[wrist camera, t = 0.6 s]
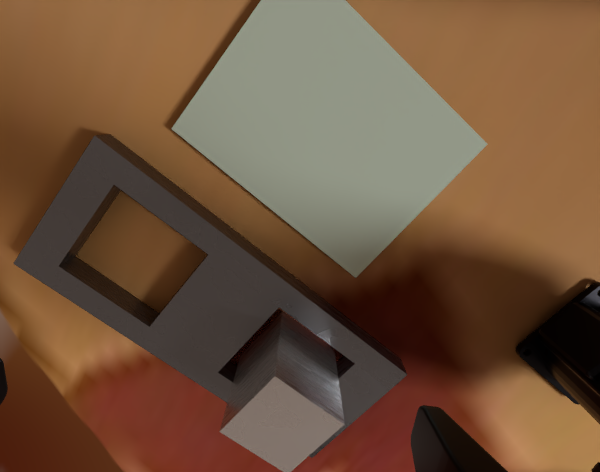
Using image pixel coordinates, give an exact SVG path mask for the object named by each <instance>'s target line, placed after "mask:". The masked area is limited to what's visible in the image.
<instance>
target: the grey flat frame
mask: <svg viewBox="0 0 600 472" xmlns="http://www.w3.org/2000/svg"><path fill="white" fill-rule="evenodd" d="M121 190H122V191H123V192H125V193H126V194H127V195H129V196H130V197H131V198H133V199H134V200H135V201H137V202H138V203H140V204H141V205H142V206H144V207H145V208H146V209H148V210H149V211H150V212H152V213H153V214H154V215H156V216H157V217H158V218H160V219H161V220H162V221H164V222H165V223H166V224H168V225H169V226H170V227H172V228H173V229H174V230H176V231H177V232H179V233H180V234H181V235H183V236H184V237H185V238H187V239H188V240H189V241H191V242H192V243H193V244H195V245H196V246H197V247H199V248H200V249H201V250H203V251H204V252H205V253H207V254H208V255H207V256H206V257H205V259H204V260H203V261H202V262H201V263H200V265H199V266H198V267H197V268H196V270H195V271H194V272H193V273H192V274H191V276H190V277H189V278H188V279H187V281H186V282H185V283H184V284H183V285H182V287H181V288H180V289H179V290H178V292H177V293H176V294H175V295H174V296H173V298H172V299H171V300H170V301H169V303H168V304H167V305H166V306H165V307H164V309H163V310H162V311H161V312H160V314H159V313H158V312H156V311H155V310H153V309H152V308H150V307H149V306H147V305H146V304H144V303H143V302H142V301H140V300H139V299H137V298H136V297H134V296H133V295H131V294H130V293H128V292H127V291H125V290H124V289H122V288H121V287H119V286H118V285H117V284H115V283H114V282H112V281H111V280H109V279H108V278H106V277H105V276H103V275H102V274H100V273H99V272H97V271H96V270H94V269H93V268H92V267H90V266H89V265H87V264H86V263H84V262H83V261H81V260H80V259H78V258H77V257H75V256H76V254H77V253H78V252H79V250H80V249H81V247H82V246H83V244H84V243H85V241H86V240H87V238H88V237H89V236H90V234H91V233H92V231H93V230H94V228H95V227H96V225H97V224H98V223H99V221H100V220H101V218H102V217H103V215H104V214H105V212H106V211H107V209H108V208H109V207H110V205H111V204H112V202H113V201H114V199H115V198H116V196H117V195H118V194H119V192H120V191H121ZM14 264H15V265H16V266H18V267H19V268H21V269H22V270H24V271H26V272H27V273H29V274H30V275H32V276H33V277H35V278H36V279H38V280H39V281H41V282H42V283H44V284H46V285H47V286H49V287H50V288H52V289H53V290H55V291H56V292H58V293H59V294H61V295H62V296H64V297H66V298H67V299H69V300H70V301H72V302H73V303H75V304H76V305H78V306H79V307H81V308H82V309H84V310H85V311H87V312H89V313H90V314H92V315H93V316H95V317H96V318H98V319H99V320H101V321H102V322H104V323H105V324H107V325H109V326H110V327H112V328H113V329H115V330H116V331H118V332H119V333H121V334H122V335H124V336H125V337H127V338H129V339H130V340H132V341H133V342H135V343H136V344H138V345H139V346H141V347H142V348H144V349H145V350H147V351H149V352H150V353H152V354H153V355H155V356H156V357H158V358H159V359H161V360H162V361H164V362H165V363H167V364H168V365H170V366H172V367H173V368H175V369H176V370H178V371H179V372H181V373H182V374H184V375H185V376H187V377H188V378H190V379H192V380H193V381H195V382H196V383H198V384H199V385H201V386H202V387H204V388H205V389H207V390H208V391H210V392H212V393H213V394H215V395H216V396H218V397H219V398H221V399H222V400H224V401H225V402H228V399H229V395H230V391H231V388H232V384H233V380H234V377H235V373H236V369H237V366H236V365H234V364H233V363H231V362H230V361H229V360H230V359H231V358H232V357H233V356H234V355H235V354H236V353H237V352H238V350H239V349H240V348H241V347H242V346H243V345H244V344H245V343H246V342H247V341H248V340H249V339H250V338H251V337H252V335H253V334H254V333H255V332H256V331H257V330H258V329H259V328H260V327H261V326H262V325H263V324H264V323H265V322H266V321H267V319H268V318H269V317H270V316H271V315H272V314H273V313H274V312H275V311H276V310H277V309H278V308H281V309H282V310H283V311H285V312H286V313H288V314H289V315H290V316H292V317H293V318H294V319H296V320H297V321H298V322H300V323H301V324H302V325H304V326H305V327H306V328H308V329H309V330H310V331H312V332H313V333H314V334H316V335H317V336H318V337H320V338H321V339H322V340H324V341H325V342H327V343H328V344H329V345H331V346H332V347H333V348H335V349H336V350H337V351H339V352H340V353H341V354H343V355H344V356H343V357H342V358H341V359H340V360H339V361H338V362H337V363H336V365H337V372H338V379H339V387H340V394H341V402H342V409H343V417H344V424H345V425H343V426H342V427H341V428H340V429H339V430H338V431H337V432H335V433H334V434H333V435H332V436H331V437H330V438H329V439H327V440H326V441H325V442H324V443H323V444H322V445H321V446H319V447H318V448H317V449H316V450H315V451H314V452H313V453H311V454H310V455H309V456H310V457H311V458H312V457H314V456H315V455H316V454H317V453H318V452H319V451H320V450H322V449H323V448H324V447H325V446H326V445H327V444H329V443H330V442H331V441H332V440H333V439H334V438H335V437H337V436H338V435H339V434H340V433H341V432H342V431H343V430H345V429H346V428H347V427H348V426H349V425H350V424H351V423H353V422H354V421H355V420H356V419H357V418H358V417H359V416H361V415H362V414H363V413H364V412H365V411H366V410H367V409H369V408H370V407H371V406H372V405H373V404H374V403H376V402H377V401H378V400H379V399H380V398H381V397H382V396H384V395H385V394H386V393H387V392H388V391H389V390H390V389H392V388H393V387H394V386H395V385H396V384H397V383H398V382H400V381H401V380H402V379H403V378H404V377H405V376H406V375H407V373H406V370H405V368H404V366H403V363H402V361H401V359H400V358H399V357H398V356H396V355H395V354H394V353H392V352H391V351H390V350H388V349H387V348H386V347H385V346H383V345H382V344H381V343H379V342H378V341H377V340H376V339H374V338H373V337H372V336H370V335H369V334H368V333H366V332H365V331H364V330H363V329H361V328H360V327H359V326H357V325H356V324H355V323H354V322H352V321H351V320H350V319H348V318H347V317H346V316H345V315H343V314H342V313H341V312H339V311H338V310H337V309H335V308H334V307H333V306H332V305H330V304H329V303H328V302H326V301H325V300H324V299H323V298H321V297H320V296H319V295H317V294H316V293H315V292H313V291H312V290H311V289H310V288H308V287H307V286H306V285H304V284H303V283H302V282H301V281H299V280H298V279H297V278H295V277H294V276H293V275H292V274H290V273H289V272H288V271H286V270H285V269H284V268H282V267H281V266H280V265H279V264H277V263H276V262H275V261H273V260H272V259H271V258H270V257H268V256H267V255H266V254H264V253H263V252H262V251H260V250H259V249H258V248H257V247H255V246H254V245H253V244H251V243H250V242H249V241H248V240H246V239H245V238H244V237H242V236H241V235H240V234H239V233H237V232H236V231H235V230H233V229H232V228H231V227H229V226H228V225H227V224H226V223H224V222H223V221H222V220H220V219H219V218H218V217H217V216H215V215H214V214H213V213H211V212H210V211H209V210H207V209H206V208H205V207H204V206H202V205H201V204H200V203H198V202H197V201H196V200H195V199H193V198H192V197H191V196H189V195H188V194H187V193H186V192H184V191H183V190H182V189H180V188H179V187H178V186H176V185H175V184H174V183H173V182H171V181H170V180H169V179H167V178H166V177H165V176H164V175H162V174H161V173H160V172H158V171H157V170H156V169H154V168H153V167H152V166H151V165H149V164H148V163H147V162H145V161H144V160H143V159H142V158H140V157H139V156H138V155H136V154H135V153H134V152H133V151H131V150H130V149H129V148H127V147H126V146H125V145H123V144H122V143H121V142H120V141H118V140H117V139H116V138H114V137H113V136H112V135H111V134H110V135H95V136H94V137H93V139H92V140H91V142H90V144H89V145H88V147H87V148H86V150H85V151H84V153H83V155H82V156H81V158H80V159H79V161H78V162H77V164H76V166H75V167H74V169H73V170H72V172H71V174H70V175H69V177H68V178H67V180H66V181H65V183H64V185H63V186H62V188H61V189H60V191H59V192H58V194H57V196H56V197H55V199H54V200H53V202H52V204H51V205H50V207H49V208H48V210H47V211H46V213H45V215H44V216H43V218H42V219H41V221H40V222H39V224H38V226H37V227H36V229H35V230H34V232H33V234H32V235H31V237H30V238H29V240H28V241H27V243H26V245H25V246H24V248H23V249H22V251H21V252H20V254H19V256H18V257H17V259H16V260H15V262H14Z"/></svg>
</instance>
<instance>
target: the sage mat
mask: <svg viewBox="0 0 600 472" xmlns="http://www.w3.org/2000/svg"><path fill="white" fill-rule="evenodd" d="M172 130H173V131H175V132H176V133H177V134H178V135H179V136H181V137H182V138H183V139H184V140H186V141H187V142H188V143H189V144H191V145H192V146H193V147H194V148H196V149H197V150H198V151H199V152H201V153H202V154H203V155H204V156H205V157H207V158H208V159H209V160H210V161H212V162H213V163H214V164H215V165H217V166H218V167H219V168H220V169H222V170H223V171H224V172H225V173H226V174H228V175H229V176H230V177H231V178H233V179H234V180H235V181H236V182H238V183H239V184H240V185H241V186H243V187H244V188H245V189H246V190H248V191H249V192H250V193H251V194H252V195H254V196H255V197H256V198H257V199H259V200H260V201H261V202H262V203H264V204H265V205H266V206H267V207H269V208H270V209H271V210H272V211H273V212H275V213H276V214H277V215H278V216H280V217H281V218H282V219H283V220H285V221H286V222H287V223H288V224H290V225H291V226H292V227H293V228H295V229H296V230H297V231H298V232H299V233H301V234H302V235H303V236H304V237H306V238H307V239H308V240H309V241H311V242H312V243H313V244H314V245H316V246H317V247H318V248H319V249H320V250H322V251H323V252H324V253H325V254H327V255H328V256H329V257H330V258H332V259H333V260H334V261H335V262H337V263H338V264H339V265H340V266H342V267H343V268H344V269H345V270H346V271H348V272H349V273H350V274H351V275H353V276H354V277H355V278H356V277H357V276H358V275H359V274H360V273H361V272H362V271H363V270H364V269H365V268H366V267H367V266H368V265H369V264H370V263H371V262H372V261H373V260H374V259H375V258H376V257H377V256H378V255H379V254H380V253H381V252H382V251H383V250H384V249H385V248H386V247H387V246H388V245H389V244H390V243H391V242H392V241H393V240H394V239H395V238H396V237H397V236H398V235H399V234H400V233H401V232H402V231H403V230H404V229H405V228H406V227H407V226H408V224H409V223H410V222H411V221H412V220H413V219H414V218H415V217H416V216H417V215H418V214H419V213H420V212H421V211H422V210H423V209H424V208H425V207H426V206H427V205H428V204H429V203H430V202H431V201H432V200H433V199H434V198H435V197H436V196H437V195H438V194H439V193H440V192H441V191H442V190H443V189H444V188H445V187H446V186H447V185H448V184H449V183H450V182H451V181H452V180H453V179H454V178H455V177H456V176H457V175H458V174H459V173H460V172H461V171H462V170H463V169H464V168H465V167H466V166H467V165H468V164H469V163H470V161H471V160H472V159H473V158H474V157H475V156H476V155H477V154H478V153H479V152H480V151H481V150H482V149H483V148H484V147H485V146H486V145H487V143H486V142H485V141H484V140H483V139H482V138H481V137H480V136H479V135H478V134H477V133H476V132H475V131H474V130H473V129H472V128H471V127H470V126H469V125H468V124H467V123H466V122H465V121H464V120H463V119H462V118H461V117H460V116H459V115H458V114H457V113H456V112H455V111H454V110H453V109H452V108H451V107H450V106H449V105H448V104H447V103H446V102H445V101H444V100H443V99H442V98H441V97H440V96H439V95H438V94H437V93H436V92H435V91H434V90H433V88H432V87H431V86H430V85H429V84H428V83H427V82H426V81H425V80H424V79H423V78H422V77H421V76H420V75H419V74H418V73H417V72H416V71H415V70H414V69H413V68H412V67H411V66H410V65H409V64H408V63H407V62H406V61H405V60H404V59H403V58H402V57H401V56H400V55H399V54H398V53H397V52H396V51H395V50H394V49H393V48H392V47H391V46H390V45H389V44H388V43H387V42H386V41H385V40H384V39H383V38H382V37H381V36H380V35H379V34H378V33H377V32H376V31H375V30H374V29H373V28H372V27H371V26H370V25H369V24H368V23H367V22H366V21H365V20H364V19H363V18H362V17H361V16H360V15H359V14H358V13H357V12H356V11H355V10H354V9H353V8H352V7H351V6H350V5H349V4H348V3H347V2H346V1H345V0H261V1H260V2H259V4H258V5H257V7H256V8H255V10H254V11H253V12H252V14H251V15H250V17H249V18H248V20H247V21H246V22H245V24H244V25H243V27H242V28H241V30H240V31H239V32H238V34H237V35H236V37H235V38H234V40H233V41H232V43H231V44H230V45H229V47H228V48H227V50H226V51H225V53H224V54H223V55H222V57H221V58H220V60H219V61H218V63H217V64H216V66H215V67H214V68H213V70H212V71H211V73H210V74H209V76H208V77H207V78H206V80H205V81H204V83H203V84H202V86H201V87H200V88H199V90H198V91H197V93H196V94H195V96H194V97H193V99H192V100H191V101H190V103H189V104H188V106H187V107H186V109H185V110H184V111H183V113H182V114H181V116H180V117H179V119H178V120H177V122H176V123H175V124H174V126H173V127H172Z"/></svg>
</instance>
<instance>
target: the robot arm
mask: <svg viewBox="0 0 600 472" xmlns="http://www.w3.org/2000/svg"><path fill="white" fill-rule="evenodd" d="M599 290H600V282H597V283H594V284H592V285H591V286H590V287H588V288H587V289H586V290H585V291H583V292H582V293H581V294H580V295H578V296H577V297H576V298H575V299H574V300H572V301H571V302H570V303H569V304H567V305H566V306H565V307H564V308H563V309H561V310H560V311H559V312H558V313H556V314H555V315H554V316H553V317H551V318H550V319H549V320H548V321H547V322H545V323H544V324H543V325H542V326H540V327H539V328H538V329H537V330H535V331H534V332H533V333H532V334H531V335H529V336H528V337H527V338H526V339H524V340H523V341H522V342H521V343H520V344H518V346H517V347H516V352H517V354H518V355H519V356H520V357H521V358H522V359H523V360H524V361H526V362H527V363H528V364H529V365H530V366H531V367H533V368H534V369H535V370H536V371H537V372H538V373H540V374H541V375H542V376H543V377H544V378H545V379H547V380H548V381H549V382H550V383H551V384H553V385H554V386H555V387H556V388H557V389H558V390H560V391H561V392H562V393H563V394H564V395H565V396H567V397H568V398H569V399H570V400H571V401H572V402H574V403H575V404H580V405H581V406H582V407H583V408H584V409H585V410H586V411H587V412H588V413H589V414H590V415H591V416H592V417H593V418H594V419H595V420H596V421H597V422H598V423H599V424H600V292H599V293H598V291H599ZM526 349H527V350H526ZM525 350H526V351H525ZM524 351H525V352H524ZM7 389H8V387H7V381H6V375H5V369H4V363H3V361H2V359H1V358H0V404H1V403H2V402H3V400H4V398H5V396H6V394H7ZM411 448H412V453H413V459H414V465H415V471H416V472H508V471H507V470H505V469H504V468H503V467H502V466H501V465H500V464H499V463H498V462H497V461H496V460H495V459H494V458H493V457H492V456H491V455H490V454H489V453H488V452H487V451H485V450H484V449H483V448H482V447H481V446H480V445H479V444H478V443H477V442H476V441H475V440H474V439H473V438H472V437H471V436H470V435H469V434H468V433H466V432H465V431H464V430H463V429H462V428H461V427H460V426H459V425H458V424H457V423H456V422H455V421H454V420H453V419H452V418H451V417H450V416H449V415H448V414H446V413H445V412H444V411H443V410H442V409H441V408H439V407H433V406H425V405H423V406H421V407H420V408H419V409H418V412H417V416H416V419H415V423H414V427H413V430H412V434H411ZM592 472H600V463H599V462H598V463H597V464H596V465H595V466H594V468H593V469H592Z"/></svg>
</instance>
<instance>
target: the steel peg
mask: <svg viewBox="0 0 600 472" xmlns="http://www.w3.org/2000/svg"><path fill="white" fill-rule="evenodd" d="M343 425H345V424H344V417H343V409H342V402H341V394H340V387H339V379H338V372H337V365H336V357H335V350H334V349H333V348H332V347H331V346H329V345H328V344H327V343H325V342H324V341H323V340H321V339H320V338H319V337H317V336H316V335H315V334H313V333H312V332H311V331H309V330H308V329H306V328H305V327H304V326H302V325H301V324H300V323H298V322H297V321H296V320H294V319H293V318H292V317H290V316H289V315H288V314H286V313H285V312H284V311H282V312H281V313H280V314H279V315H278V316H277V317H276V318H275V319H274V320H273V321H272V322H271V323H270V324H269V325H268V327H267V328H266V329H265V330H264V331H263V332H262V333H261V334H260V335H259V336H258V337H257V338H256V339H255V340H254V341H253V342H252V344H251V345H250V346H249V347H248V348H247V349H246V350H245V351H244V352H243V353H242V354H241V355H240V358H239V362H238V366H237V369H236V373H235V377H234V380H233V384H232V388H231V391H230V395H229V399H228V402H227V406H226V410H225V413H224V417H223V421H222V424H221V428H220V432H221V433H223V434H224V435H226V436H227V437H229V438H230V439H232V440H234V441H235V442H237V443H238V444H240V445H242V446H243V447H245V448H246V449H248V450H250V451H251V452H253V453H254V454H256V455H258V456H259V457H261V458H262V459H264V460H265V461H267V462H269V463H270V464H272V465H273V466H275V467H277V468H278V469H280V470H281V471H283V472H291V471H292V470H293V469H294V468H295V467H297V466H298V465H299V464H300V463H301V462H302V461H303V460H305V459H306V458H307V457H308V456H309V455H310V454H311V453H313V452H314V451H315V450H316V449H317V448H318V447H319V446H321V445H322V444H323V443H324V442H325V441H326V440H327V439H329V438H330V437H331V436H332V435H333V434H334V433H335V432H337V431H338V430H339V429H340V428H341V427H342V426H343Z"/></svg>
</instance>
